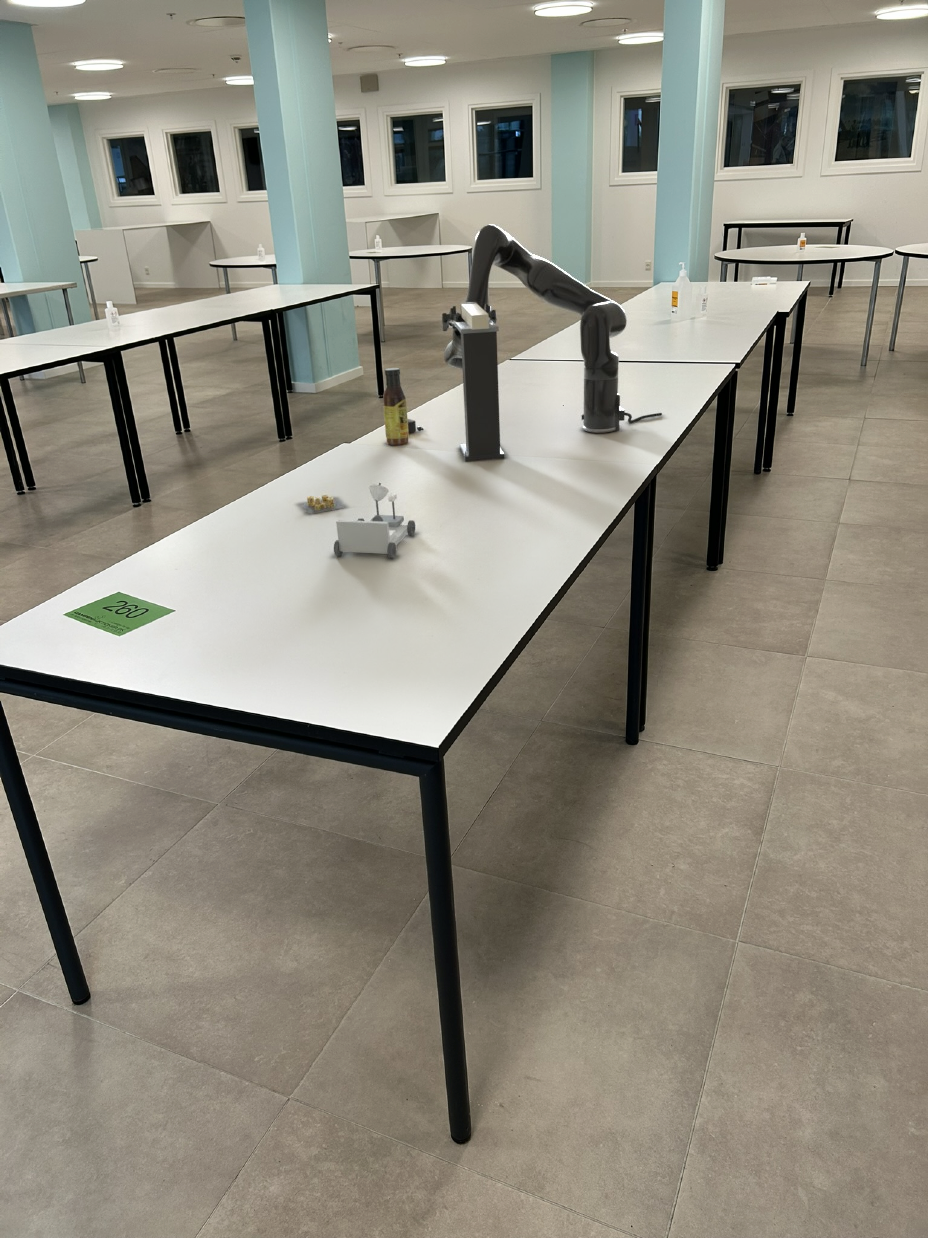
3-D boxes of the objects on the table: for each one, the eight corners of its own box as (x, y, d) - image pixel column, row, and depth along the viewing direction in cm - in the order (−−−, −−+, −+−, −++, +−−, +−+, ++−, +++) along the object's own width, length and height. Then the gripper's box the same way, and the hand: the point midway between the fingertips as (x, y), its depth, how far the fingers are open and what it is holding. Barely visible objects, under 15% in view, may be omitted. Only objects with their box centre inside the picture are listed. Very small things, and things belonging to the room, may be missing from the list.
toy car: (361, 479, 182) (416, 481, 179) (366, 525, 186) (419, 527, 184) (328, 508, 166) (387, 510, 164) (334, 557, 171) (392, 560, 168)
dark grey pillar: (497, 445, 238) (493, 319, 225) (504, 458, 227) (500, 326, 213) (459, 448, 238) (453, 322, 224) (465, 461, 226) (458, 329, 212)
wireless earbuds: (410, 434, 254) (410, 423, 252) (396, 430, 259) (395, 419, 257) (424, 431, 256) (423, 420, 255) (409, 427, 261) (408, 416, 260)
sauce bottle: (405, 446, 242) (400, 371, 234) (383, 445, 244) (377, 371, 235) (412, 439, 248) (406, 366, 240) (390, 439, 249) (384, 366, 241)
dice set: (307, 504, 201) (306, 496, 200) (329, 501, 202) (328, 492, 202) (313, 511, 197) (311, 502, 196) (335, 507, 198) (334, 498, 197)
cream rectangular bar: (476, 315, 233) (476, 301, 232) (489, 328, 211) (488, 313, 210) (460, 316, 233) (460, 302, 231) (471, 329, 211) (471, 314, 210)
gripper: (438, 322, 242) (441, 295, 226) (491, 318, 244) (497, 292, 227) (441, 349, 242) (444, 324, 226) (493, 345, 243) (500, 320, 227)
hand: (471, 308), depth 227 cm, fingers open, 8 cm apart
